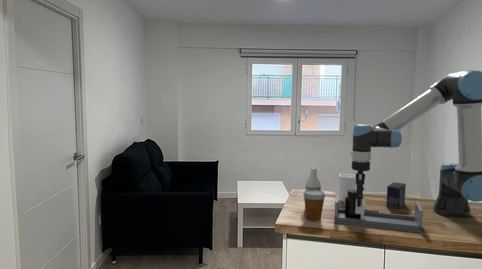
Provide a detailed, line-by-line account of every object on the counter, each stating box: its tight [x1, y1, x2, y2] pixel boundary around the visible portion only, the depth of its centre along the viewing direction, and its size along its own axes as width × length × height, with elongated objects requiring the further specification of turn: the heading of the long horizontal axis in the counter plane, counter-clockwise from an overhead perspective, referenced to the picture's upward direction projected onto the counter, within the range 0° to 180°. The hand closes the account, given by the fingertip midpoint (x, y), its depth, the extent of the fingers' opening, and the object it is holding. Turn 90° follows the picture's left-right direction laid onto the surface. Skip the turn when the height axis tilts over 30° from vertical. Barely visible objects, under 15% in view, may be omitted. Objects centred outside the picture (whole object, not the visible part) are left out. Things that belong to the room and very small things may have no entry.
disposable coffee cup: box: [302, 189, 326, 222], centre depth 163 cm, size 10×10×12 cm
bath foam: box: [305, 166, 322, 191], centre depth 175 cm, size 7×7×20 cm
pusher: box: [361, 198, 380, 220], centre depth 161 cm, size 7×10×7 cm
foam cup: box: [337, 172, 357, 203], centre depth 191 cm, size 10×9×13 cm
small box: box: [386, 182, 407, 210], centre depth 183 cm, size 11×6×10 cm, turn 143°
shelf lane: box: [333, 194, 424, 234], centre depth 160 cm, size 34×14×9 cm, turn 72°
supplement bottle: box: [344, 189, 361, 219], centre depth 163 cm, size 7×7×12 cm
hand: (358, 208), depth 162 cm, fingers open, 13 cm apart
